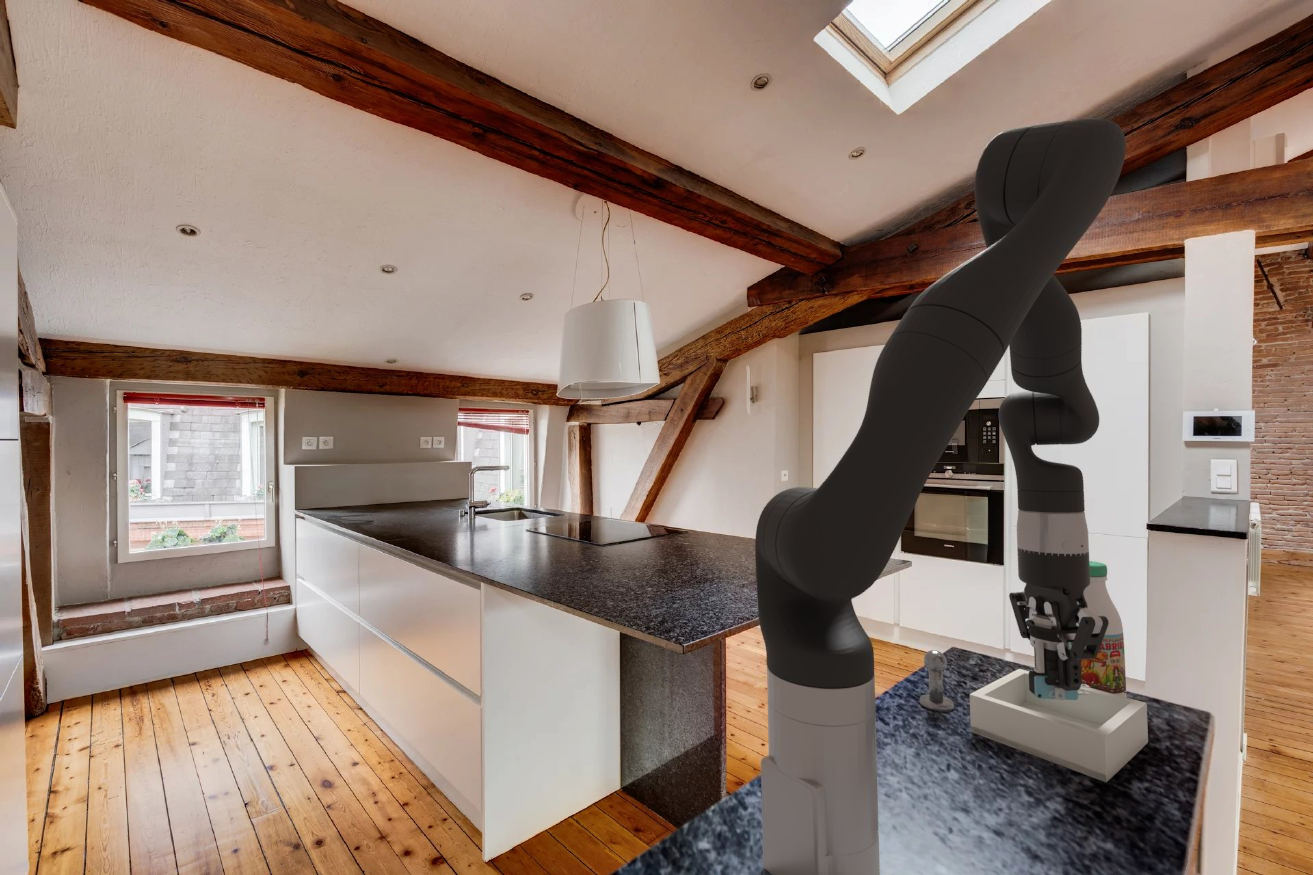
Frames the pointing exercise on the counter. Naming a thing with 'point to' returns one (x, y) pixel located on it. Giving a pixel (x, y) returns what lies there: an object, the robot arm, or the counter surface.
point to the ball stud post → (936, 683)
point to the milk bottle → (1111, 653)
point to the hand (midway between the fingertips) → (1057, 682)
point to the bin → (1061, 725)
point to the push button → (1048, 661)
